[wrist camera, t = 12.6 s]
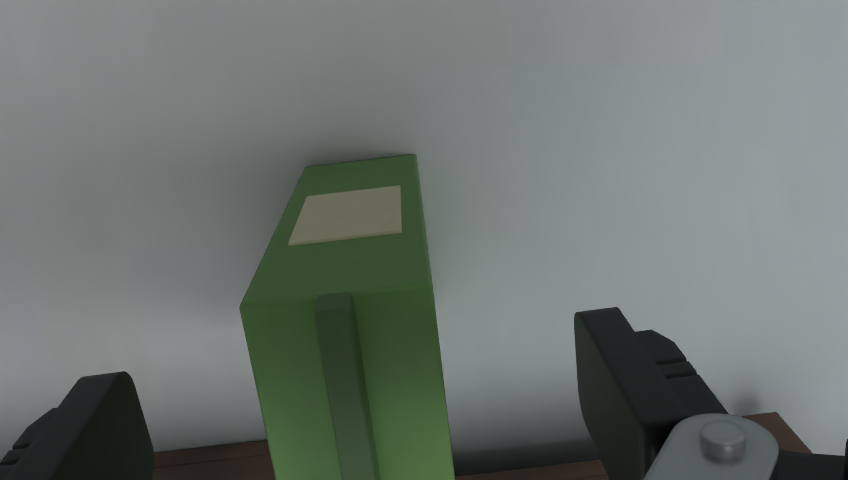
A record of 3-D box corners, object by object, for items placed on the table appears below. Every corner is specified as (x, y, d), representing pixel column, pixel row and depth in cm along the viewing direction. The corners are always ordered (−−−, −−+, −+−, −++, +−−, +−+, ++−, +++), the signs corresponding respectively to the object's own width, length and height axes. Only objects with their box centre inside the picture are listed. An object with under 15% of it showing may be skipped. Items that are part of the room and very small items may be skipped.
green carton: (303, 164, 23) (226, 322, 12) (415, 151, 23) (434, 298, 12) (329, 317, 24) (281, 570, 14) (433, 305, 24) (463, 549, 14)
